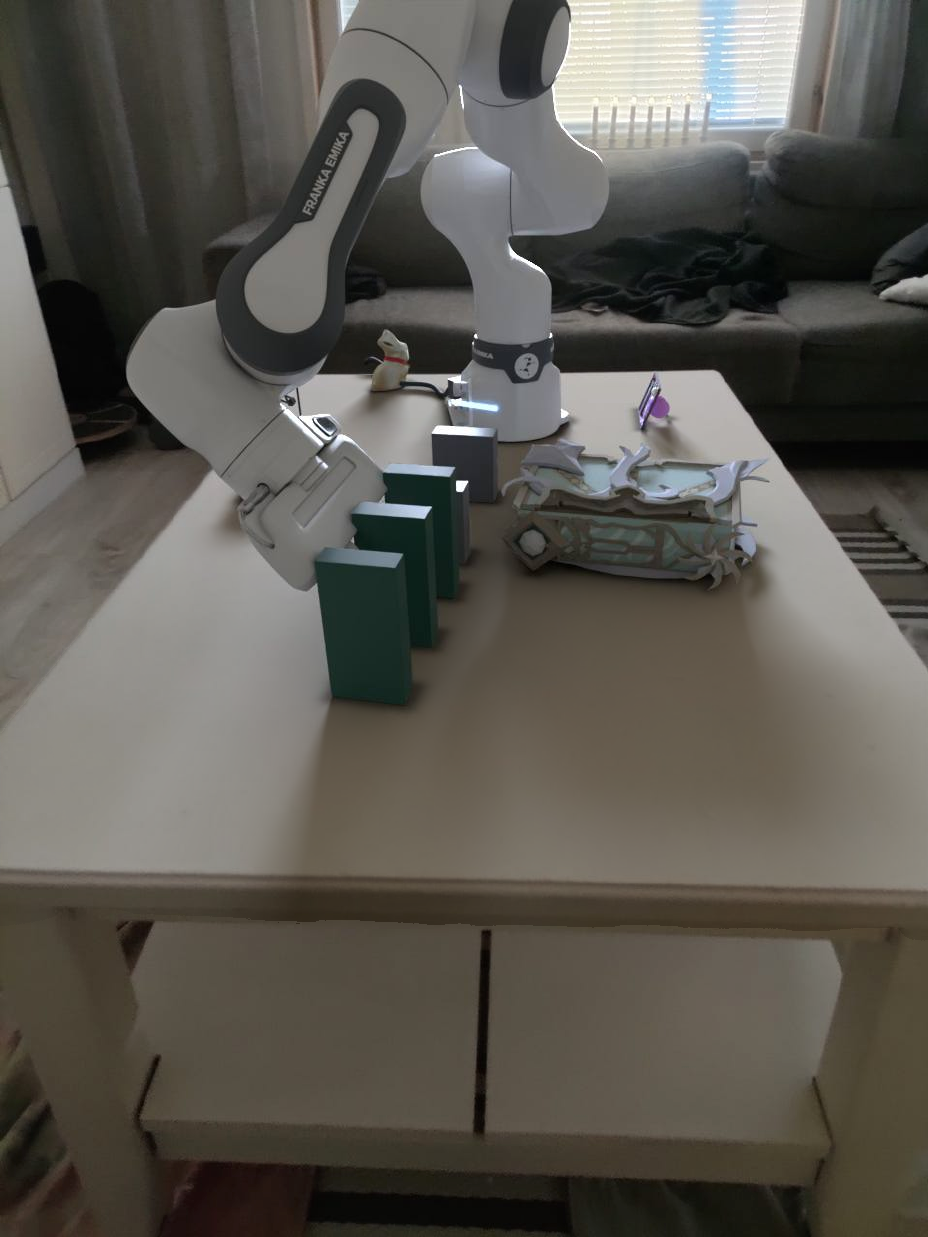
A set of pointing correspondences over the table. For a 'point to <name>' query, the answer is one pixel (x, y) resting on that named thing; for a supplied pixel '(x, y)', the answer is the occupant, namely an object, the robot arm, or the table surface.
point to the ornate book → (631, 513)
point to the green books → (384, 593)
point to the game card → (653, 402)
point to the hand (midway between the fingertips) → (387, 568)
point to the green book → (405, 557)
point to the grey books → (468, 470)
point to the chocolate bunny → (391, 364)
